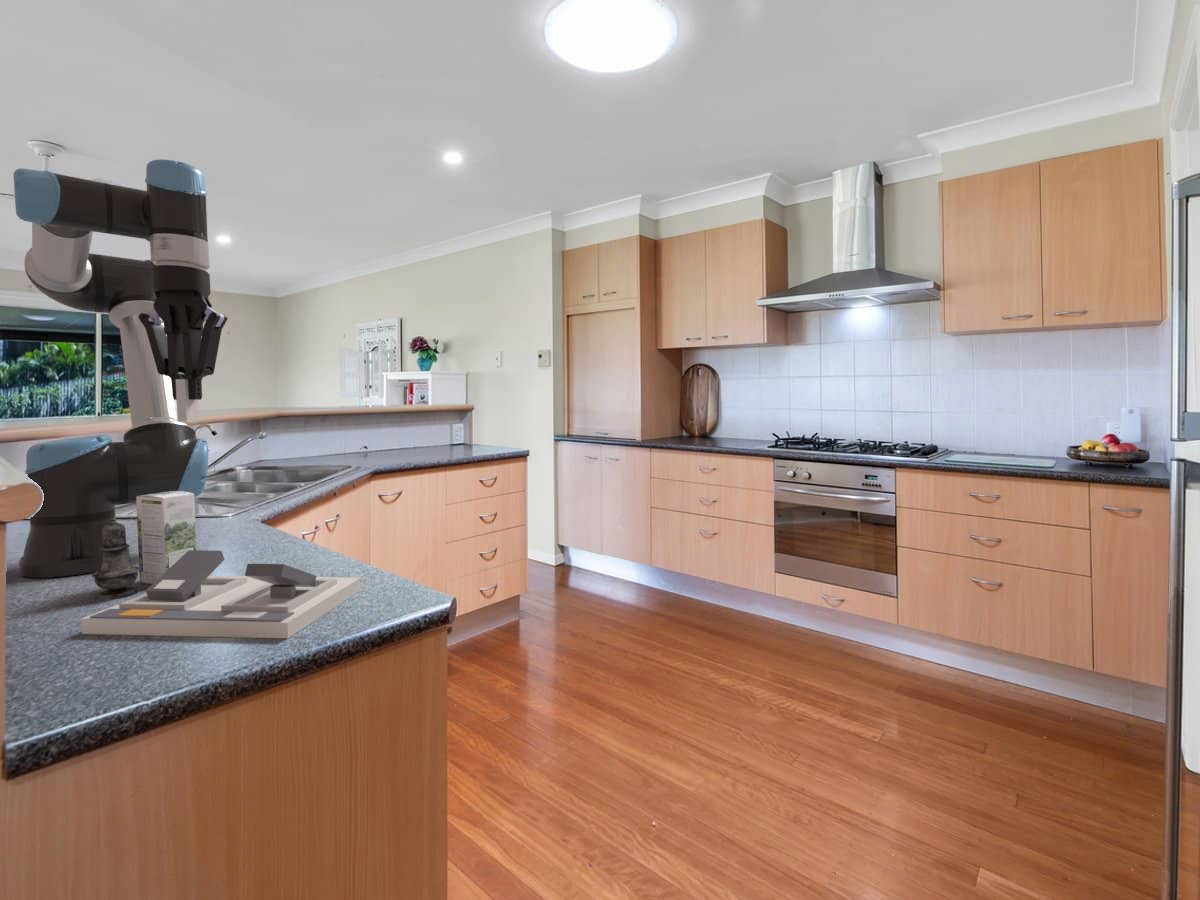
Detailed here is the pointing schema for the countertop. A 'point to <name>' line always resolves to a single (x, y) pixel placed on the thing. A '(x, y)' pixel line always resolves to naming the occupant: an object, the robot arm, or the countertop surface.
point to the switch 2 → (280, 574)
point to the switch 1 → (185, 575)
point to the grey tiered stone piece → (115, 564)
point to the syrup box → (164, 531)
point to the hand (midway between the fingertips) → (188, 420)
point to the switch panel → (226, 609)
